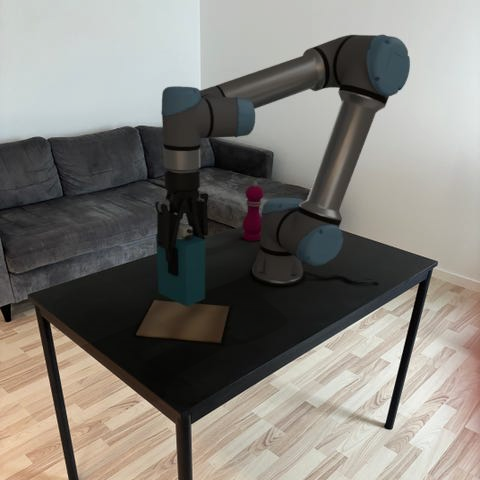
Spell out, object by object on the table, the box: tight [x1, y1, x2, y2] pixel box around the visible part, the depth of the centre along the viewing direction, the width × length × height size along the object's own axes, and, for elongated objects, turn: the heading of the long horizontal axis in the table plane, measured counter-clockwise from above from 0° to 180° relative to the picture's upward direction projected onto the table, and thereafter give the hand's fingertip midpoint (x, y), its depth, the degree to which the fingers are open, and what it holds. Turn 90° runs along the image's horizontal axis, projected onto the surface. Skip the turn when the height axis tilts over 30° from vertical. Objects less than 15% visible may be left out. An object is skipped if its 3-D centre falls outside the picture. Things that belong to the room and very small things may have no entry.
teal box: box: [155, 222, 206, 307], centre depth 111 cm, size 18×6×10 cm
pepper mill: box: [242, 181, 264, 242], centre depth 165 cm, size 7×7×20 cm
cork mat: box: [135, 299, 230, 344], centre depth 119 cm, size 20×17×1 cm
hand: (184, 269), depth 112 cm, fingers closed on teal box, 6 cm apart
